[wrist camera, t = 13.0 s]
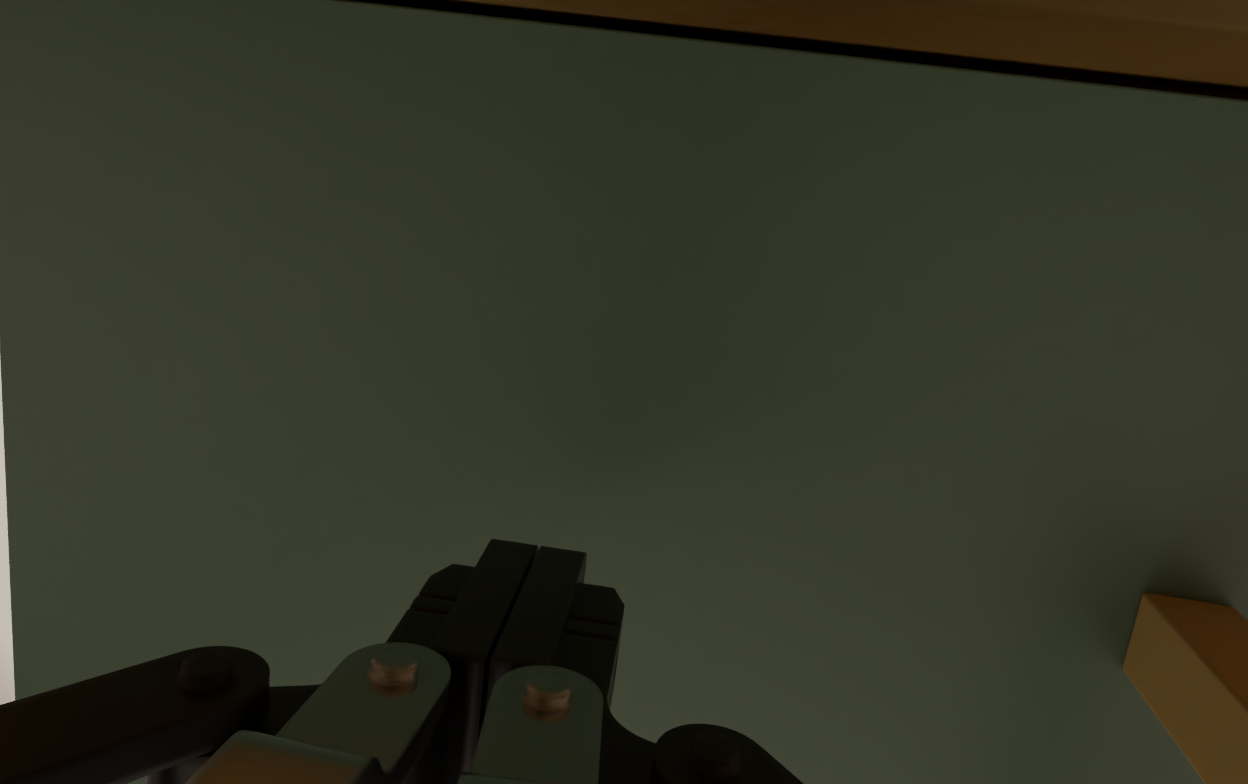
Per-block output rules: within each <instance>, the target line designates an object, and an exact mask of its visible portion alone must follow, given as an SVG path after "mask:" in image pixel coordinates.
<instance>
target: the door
mask: <svg viewBox="0 0 1248 784" xmlns="http://www.w3.org/2000/svg"><path fill="white" fill-rule="evenodd" d="M0 353H1V354H0V355H1V378H2V401H3V424H4V448H5V470H6V494H7V517H8V539H9V564H10V586H11V610H12V633H13V656H14V680H15V701H16V700H19V699H23V698H26V697H29V696H33V695H36V694H40V693H43V692H46V691H50V690H53V689H56V688H60V687H63V686H67V685H70V684H73V683H77V682H80V681H83V680H87V679H90V678H94V677H97V676H100V675H104V674H107V673H110V672H114V671H117V670H121V669H124V668H127V667H131V666H134V665H137V664H141V663H144V662H148V661H151V660H154V659H158V658H161V657H164V656H168V655H171V654H175V653H178V652H181V651H185V650H189V649H193V648H199V647H207V646H231V647H238V648H243V649H246V650H250V651H252V652H254V653H256V654H258V655H260V656H261V657H262V658H264V659H265V661H266V662H267V663H268V665H269V668H270V687H273V686H302V685H317V684H322V683H323V682H324V681H325V680H326V679H327V677H328V676H329V675H330V674H331V673H332V672H333V671H334V670H335V669H336V667H337V666H338V665H339V664H340V663H341V662H342V661H343V660H344V659H345V658H346V657H347V656H348V655H350V654H351V653H353V652H355V651H357V650H359V649H361V648H364V647H367V646H371V645H375V644H381V643H386V641H387V640H388V638H389V637H390V635H391V634H392V632H393V631H394V629H395V628H396V626H397V625H398V623H399V622H400V620H401V619H402V617H403V616H404V614H405V613H406V611H407V610H408V609H410V605H411V604H412V602H413V601H414V599H415V598H416V596H419V592H420V590H421V589H422V588H423V586H424V585H425V583H426V582H427V580H428V579H429V577H430V576H431V575H433V574H435V573H437V572H438V571H440V570H442V569H444V568H446V567H448V566H449V565H451V564H460V565H466V566H473V567H475V566H476V564H477V563H478V561H479V559H480V557H481V556H482V554H483V552H484V551H485V549H486V547H487V545H488V544H489V542H490V540H491V539H492V538H493V539H500V540H506V541H513V542H520V543H526V544H533V545H538V549H539V548H540V546H547V547H554V548H560V549H567V550H574V551H580V552H586V553H587V560H586V571H585V579H584V583H585V584H592V585H599V586H605V587H612V588H615V590H616V591H617V593H618V595H619V597H620V598H621V600H622V602H623V603H624V605H625V608H624V615H623V623H622V630H621V638H620V645H619V653H618V660H617V668H616V675H615V683H614V690H613V696H612V702H611V707H610V712H611V714H612V715H613V716H614V718H615V719H616V720H617V721H618V722H619V723H620V724H621V725H622V726H623V727H625V728H626V729H627V730H629V731H630V732H632V733H634V734H635V735H637V736H639V737H642V738H644V739H646V740H648V741H651V742H654V743H656V742H657V741H658V739H659V738H660V737H661V736H662V735H663V734H664V733H665V732H667V731H668V730H670V729H672V728H675V727H678V726H682V725H686V724H711V725H718V726H722V727H726V728H729V729H732V730H735V731H737V732H739V733H742V734H744V735H745V736H747V737H749V738H751V739H752V740H754V741H755V742H756V743H757V744H759V745H760V746H761V747H762V748H763V749H765V750H766V751H767V752H768V753H769V754H770V755H771V756H773V757H774V758H775V759H776V760H777V761H778V762H779V763H781V764H782V765H783V766H784V767H785V768H786V769H787V770H789V771H790V772H791V773H792V774H793V775H794V776H795V777H797V778H798V779H799V780H800V781H801V782H802V783H803V784H1248V100H1245V99H1236V98H1227V97H1218V96H1209V95H1200V94H1191V93H1182V92H1173V91H1164V90H1155V89H1146V88H1137V87H1127V86H1118V85H1109V84H1100V83H1091V82H1082V81H1073V80H1064V79H1055V78H1046V77H1037V76H1028V75H1019V74H1010V73H1001V72H992V71H983V70H974V69H965V68H956V67H947V66H938V65H929V64H920V63H911V62H902V61H893V60H884V59H875V58H866V57H857V56H848V55H839V54H830V53H821V52H812V51H803V50H794V49H785V48H775V47H766V46H757V45H748V44H739V43H730V42H721V41H712V40H703V39H694V38H685V37H676V36H667V35H658V34H649V33H640V32H631V31H622V30H613V29H604V28H595V27H586V26H577V25H568V24H559V23H550V22H541V21H532V20H523V19H514V18H505V17H496V16H487V15H478V14H469V13H460V12H451V11H442V10H432V9H423V8H414V7H405V6H396V5H387V4H378V3H369V2H360V1H351V0H0ZM127 784H145V777H143V778H140V779H137V780H135V781H132V782H130V783H127Z"/></svg>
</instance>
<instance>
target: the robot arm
mask: <svg viewBox="0 0 1248 784" xmlns="http://www.w3.org/2000/svg"><path fill="white" fill-rule="evenodd" d="M586 560H587V553H586V552H580V551H574V550H567V549H560V548H554V547H547V546H540V548H539V549H538V545H533V544H526V543H520V542H513V541H506V540H500V539H493V538H492V539H491V540H490V542H489V544H488V545H487V547H486V549H485V551H484V552H483V554H482V556H481V557H480V559H479V561H478V563H477V564H476V566H475V567H473V566H466V565H460V564H451V565H449V566H448V567H446V568H444V569H442V570H440V571H438V572H437V573H435V574H433V575H431V576H430V577H429V579H428V580H427V582H426V583H425V585H424V586H423V588H422V589H421V590H420V592H419V596H416V598H415V599H414V601H413V602H412V604H411V605H410V609H408V610H407V611H406V613H405V614H404V616H403V617H402V619H401V620H400V622H399V623H398V625H397V626H396V628H395V629H394V631H393V632H392V634H391V635H390V637H389V638H388V640H387V641H386V643H381V644H375V645H371V646H367V647H364V648H361V649H359V650H357V651H355V652H353V653H351V654H350V655H348V656H347V657H346V658H345V659H344V660H343V661H342V662H341V663H340V664H339V665H338V666H337V667H336V669H335V670H334V671H333V672H332V673H331V674H330V675H329V676H328V677H327V679H326V680H325V681H324V682H323V683H322V684H317V685H302V686H273V687H270V668H269V665H268V663H267V662H266V661H265V659H264V658H262V657H261V656H260V655H258V654H256V653H254V652H252V651H250V650H246V649H243V648H238V647H231V646H207V647H199V648H193V649H189V650H185V651H181V652H178V653H175V654H171V655H168V656H164V657H161V658H158V659H154V660H151V661H148V662H144V663H141V664H137V665H134V666H131V667H127V668H124V669H121V670H117V671H114V672H110V673H107V674H104V675H100V676H97V677H94V678H90V679H87V680H83V681H80V682H77V683H73V684H70V685H67V686H63V687H60V688H56V689H53V690H50V691H46V692H43V693H40V694H36V695H33V696H29V697H26V698H23V699H19V700H16V701H13V702H9V703H6V704H2V705H0V784H127V783H130V782H132V781H135V780H137V779H140V778H143V777H145V784H803V783H802V782H801V781H800V780H799V779H798V778H797V777H795V776H794V775H793V774H792V773H791V772H790V771H789V770H787V769H786V768H785V767H784V766H783V765H782V764H781V763H779V762H778V761H777V760H776V759H775V758H774V757H773V756H771V755H770V754H769V753H768V752H767V751H766V750H765V749H763V748H762V747H761V746H760V745H759V744H757V743H756V742H755V741H754V740H752V739H751V738H749V737H747V736H745V735H744V734H742V733H739V732H737V731H735V730H732V729H729V728H726V727H722V726H718V725H711V724H686V725H682V726H678V727H675V728H672V729H670V730H668V731H667V732H665V733H664V734H663V735H662V736H661V737H660V738H659V739H658V741H657V742H656V743H654V742H651V741H648V740H646V739H644V738H642V737H639V736H637V735H635V734H634V733H632V732H630V731H629V730H627V729H626V728H625V727H623V726H622V725H621V724H620V723H619V722H618V721H617V720H616V719H615V718H614V716H613V715H612V714H611V712H610V707H611V702H612V696H613V690H614V683H615V675H616V668H617V660H618V653H619V645H620V638H621V630H622V623H623V615H624V608H625V605H624V603H623V602H622V600H621V598H620V597H619V595H618V593H617V591H616V590H615V588H612V587H605V586H599V585H592V584H585V583H584V579H585V571H586Z"/></svg>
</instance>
